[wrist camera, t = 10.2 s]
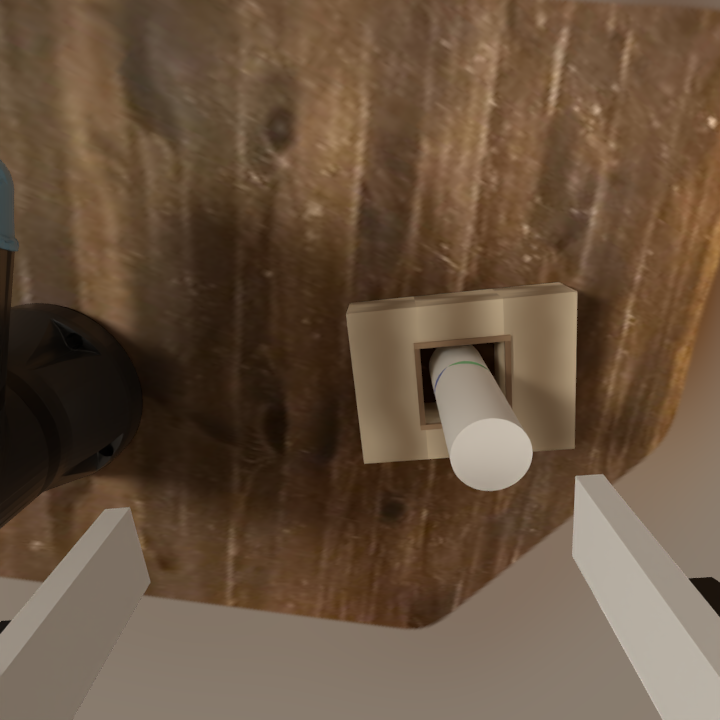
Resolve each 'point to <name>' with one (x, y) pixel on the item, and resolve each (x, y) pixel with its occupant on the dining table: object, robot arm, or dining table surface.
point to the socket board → (463, 327)
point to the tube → (477, 421)
